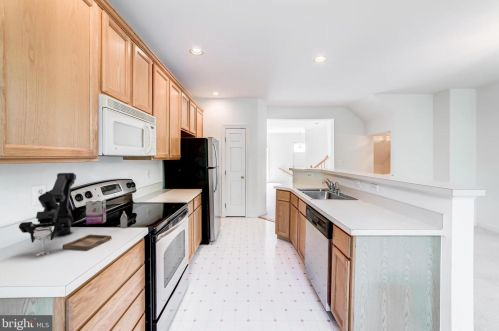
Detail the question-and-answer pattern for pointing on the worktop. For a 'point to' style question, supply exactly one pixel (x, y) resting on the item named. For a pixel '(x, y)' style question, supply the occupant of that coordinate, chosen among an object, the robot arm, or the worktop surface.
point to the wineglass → (42, 237)
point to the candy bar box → (95, 211)
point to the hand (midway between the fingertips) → (41, 241)
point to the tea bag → (123, 220)
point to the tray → (87, 242)
